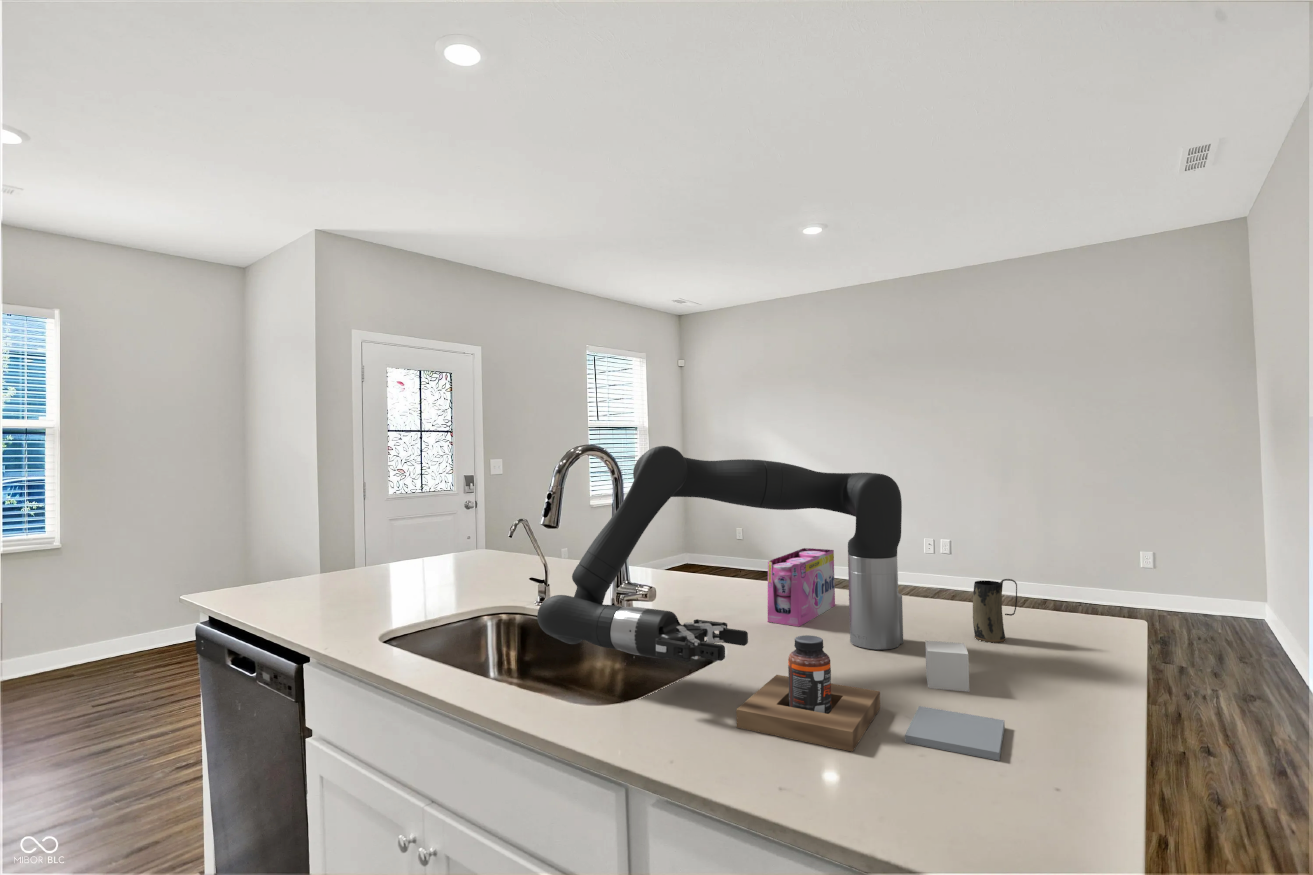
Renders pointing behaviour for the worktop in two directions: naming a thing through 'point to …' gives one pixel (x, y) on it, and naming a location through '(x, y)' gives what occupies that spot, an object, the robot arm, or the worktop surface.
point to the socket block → (810, 715)
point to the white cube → (947, 665)
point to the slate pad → (956, 732)
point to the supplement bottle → (809, 675)
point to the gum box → (800, 586)
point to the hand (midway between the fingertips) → (736, 645)
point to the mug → (989, 611)
